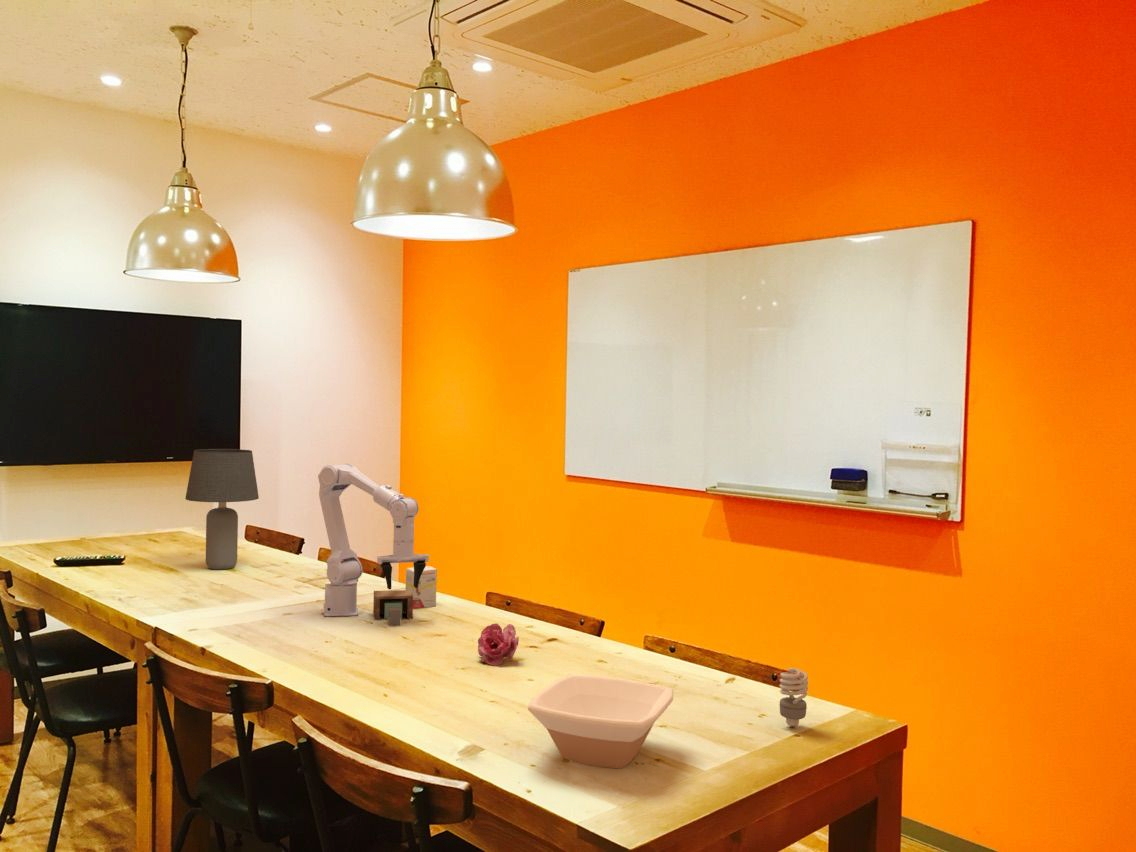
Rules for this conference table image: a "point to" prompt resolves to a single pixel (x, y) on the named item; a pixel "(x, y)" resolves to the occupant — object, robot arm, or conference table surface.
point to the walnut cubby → (392, 595)
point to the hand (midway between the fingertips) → (402, 587)
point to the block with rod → (393, 611)
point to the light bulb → (790, 705)
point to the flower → (497, 644)
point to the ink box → (423, 587)
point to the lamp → (222, 498)
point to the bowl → (599, 717)
